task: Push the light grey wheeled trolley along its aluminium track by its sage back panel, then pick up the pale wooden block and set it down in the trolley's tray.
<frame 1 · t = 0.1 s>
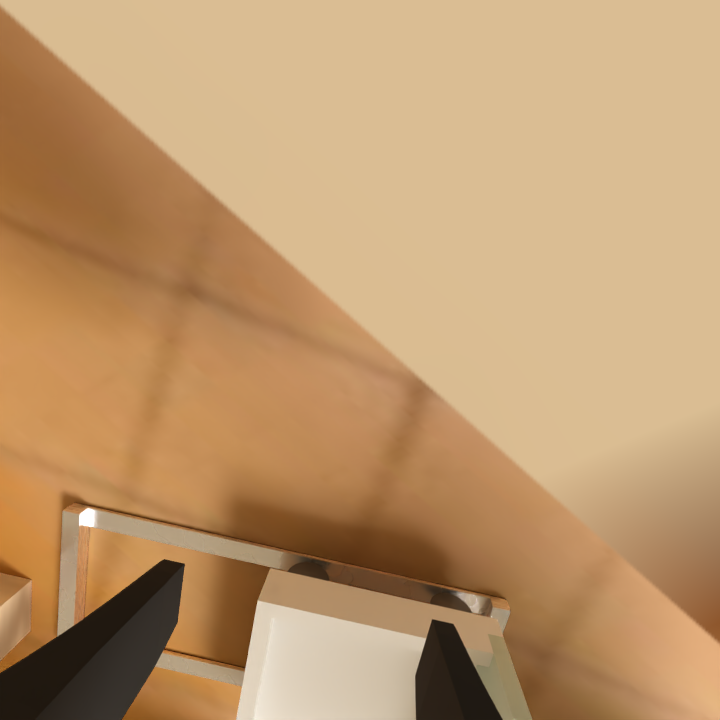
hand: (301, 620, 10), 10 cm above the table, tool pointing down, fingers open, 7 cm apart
track: (274, 622, 23), on the table
trolley: (358, 710, 19), point 4 cm above the table, slide at 0.0 cm
block: (1, 598, 24), on the table
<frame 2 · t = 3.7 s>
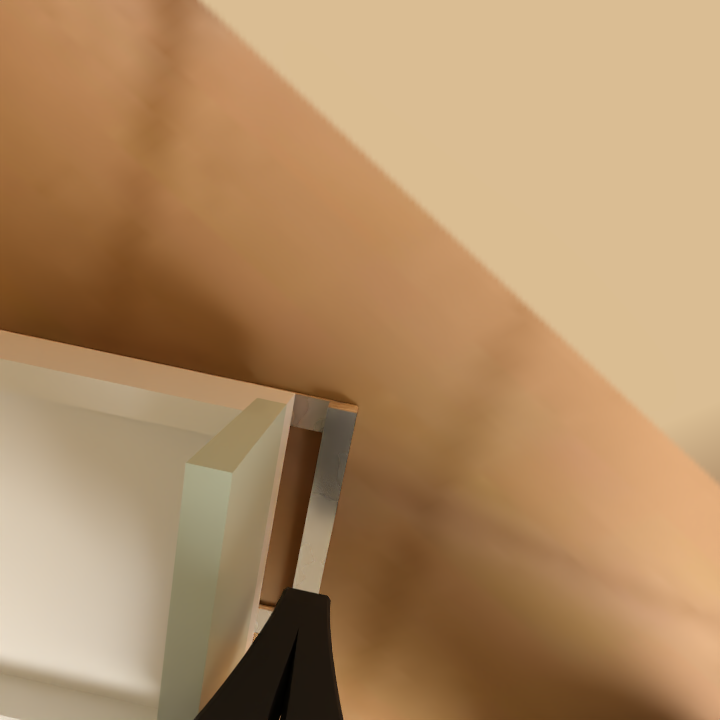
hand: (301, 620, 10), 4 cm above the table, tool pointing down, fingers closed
track: (5, 460, 14), on the table
trolley: (49, 557, 11), point 4 cm above the table, slide at 0.4 cm, touching gripper
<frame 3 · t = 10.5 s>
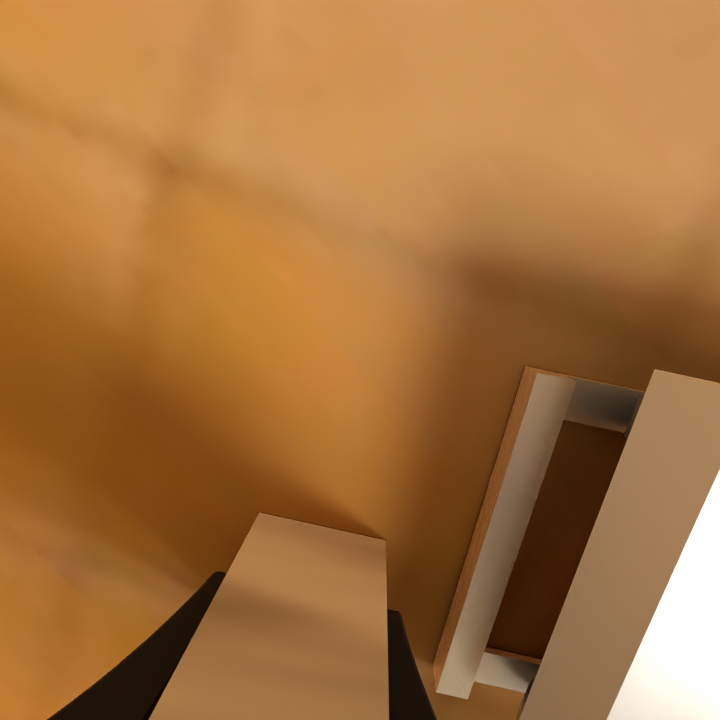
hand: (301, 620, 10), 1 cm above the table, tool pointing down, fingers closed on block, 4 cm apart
block: (311, 580, 12), on the table, touching gripper
when the fingers open (6 cm above the table, at t = 13.7 s): block drops 1 cm, resting on trolley.
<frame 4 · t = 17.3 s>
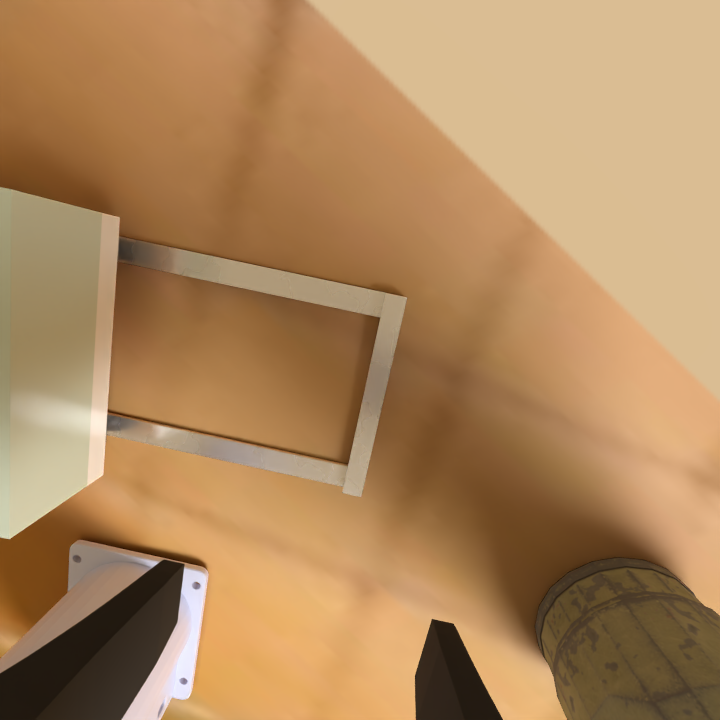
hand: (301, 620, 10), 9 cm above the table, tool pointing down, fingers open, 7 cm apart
track: (135, 345, 19), on the table
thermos: (612, 620, 21), on the table
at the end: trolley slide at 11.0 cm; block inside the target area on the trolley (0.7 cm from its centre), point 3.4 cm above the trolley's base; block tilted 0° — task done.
